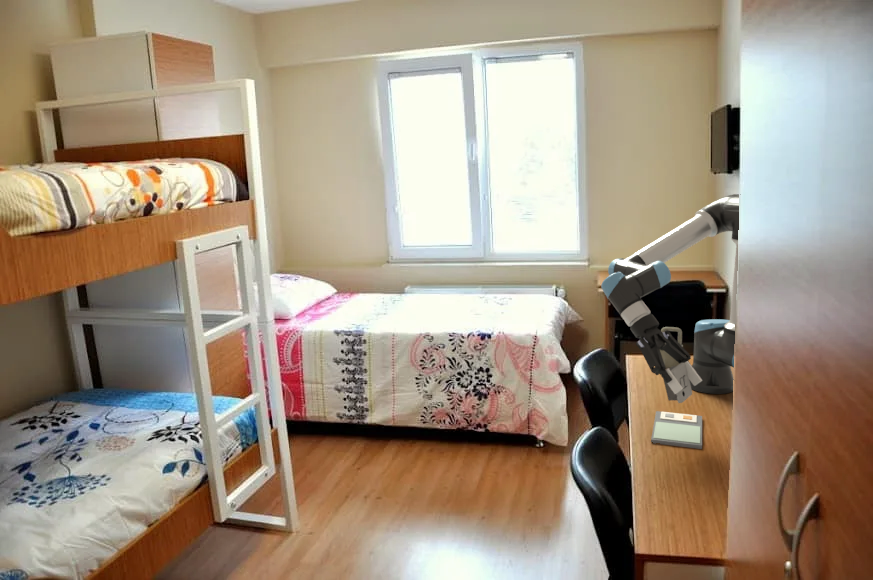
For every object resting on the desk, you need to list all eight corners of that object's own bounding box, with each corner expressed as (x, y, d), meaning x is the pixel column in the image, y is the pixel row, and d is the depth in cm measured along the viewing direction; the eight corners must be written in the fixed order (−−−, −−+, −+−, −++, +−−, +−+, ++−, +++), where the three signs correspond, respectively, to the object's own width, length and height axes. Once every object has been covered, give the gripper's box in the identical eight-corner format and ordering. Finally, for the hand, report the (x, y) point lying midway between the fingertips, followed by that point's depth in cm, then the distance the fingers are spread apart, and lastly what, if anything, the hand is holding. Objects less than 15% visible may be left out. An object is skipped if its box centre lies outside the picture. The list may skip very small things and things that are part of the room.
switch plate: (656, 414, 204) (656, 409, 204) (701, 419, 200) (702, 414, 199) (650, 442, 184) (651, 437, 184) (701, 449, 180) (702, 444, 179)
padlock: (658, 363, 253) (660, 325, 250) (681, 366, 250) (683, 326, 247) (657, 366, 250) (659, 327, 247) (681, 369, 246) (682, 329, 243)
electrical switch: (681, 404, 181) (679, 371, 180) (662, 402, 184) (660, 369, 183) (692, 395, 188) (691, 362, 187) (674, 393, 191) (672, 361, 190)
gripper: (653, 321, 201) (700, 385, 192) (609, 334, 188) (657, 403, 179) (670, 307, 196) (719, 371, 187) (626, 319, 182) (676, 389, 174)
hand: (688, 387), depth 183 cm, fingers closed on electrical switch, 9 cm apart
